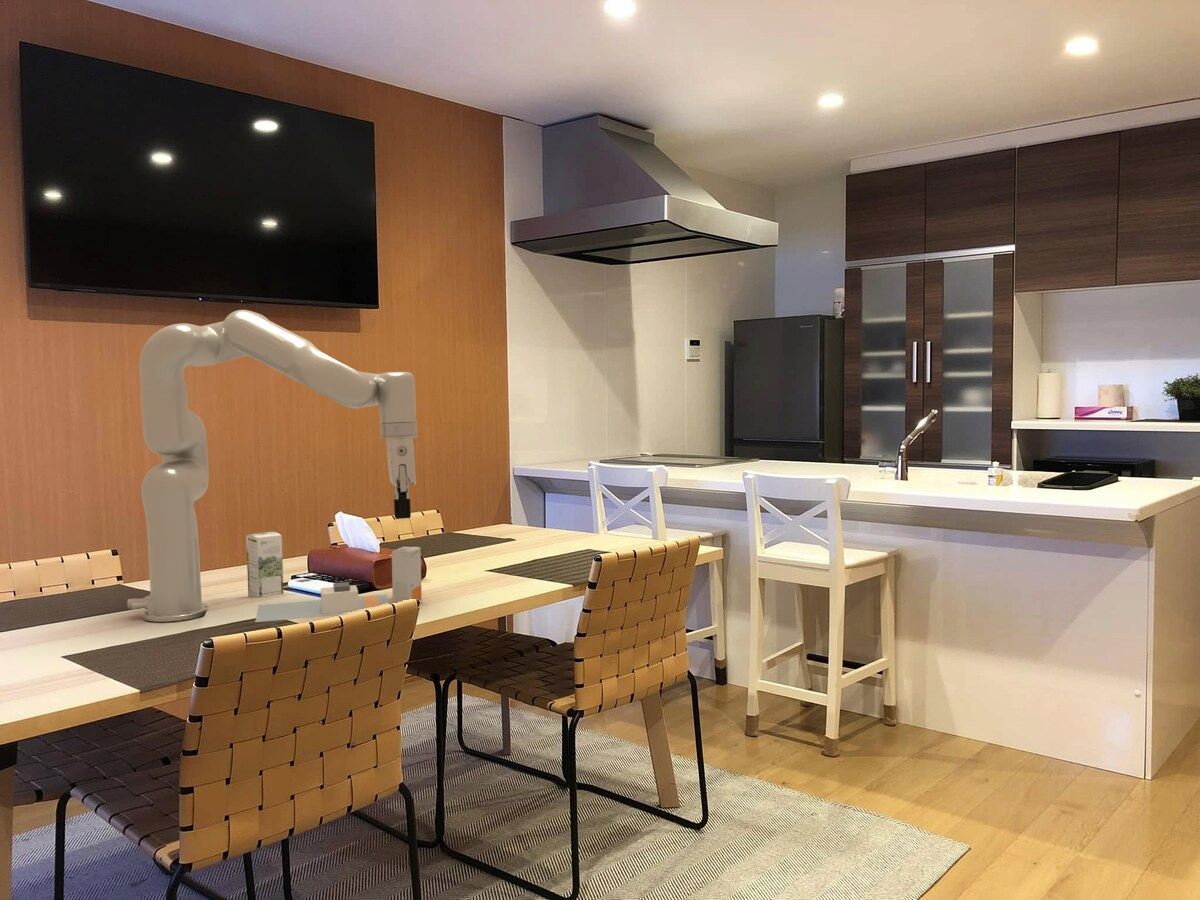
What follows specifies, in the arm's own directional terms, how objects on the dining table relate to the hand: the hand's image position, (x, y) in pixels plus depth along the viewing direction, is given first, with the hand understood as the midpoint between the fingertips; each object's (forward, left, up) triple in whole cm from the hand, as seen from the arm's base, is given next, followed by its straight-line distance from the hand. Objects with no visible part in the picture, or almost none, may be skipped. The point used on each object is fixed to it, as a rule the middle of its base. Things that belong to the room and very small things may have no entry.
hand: (402, 517), depth 194 cm
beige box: (-14, -3, -17) cm, 22 cm away
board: (-17, -1, -19) cm, 25 cm away
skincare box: (0, 0, -19) cm, 19 cm away
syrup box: (-29, +18, -19) cm, 39 cm away
